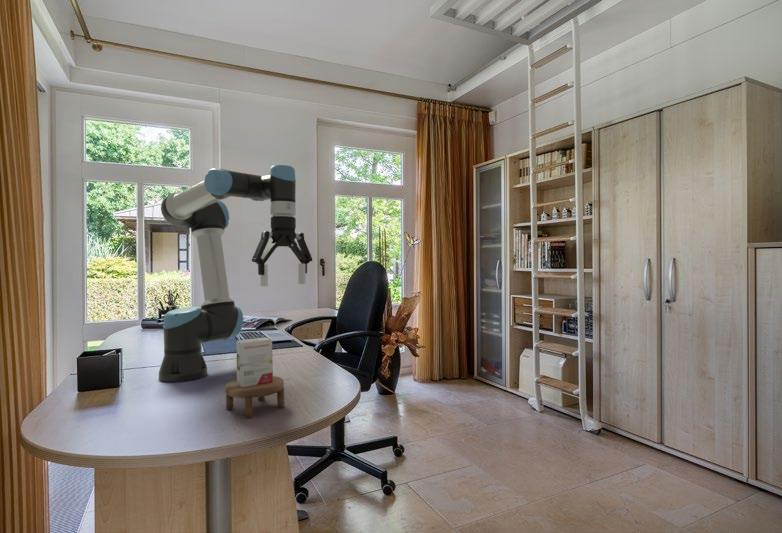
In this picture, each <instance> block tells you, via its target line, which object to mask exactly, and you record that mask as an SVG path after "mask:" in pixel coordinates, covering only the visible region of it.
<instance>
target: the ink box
mask: <svg viewBox="0 0 782 533" xmlns="http://www.w3.org/2000/svg"><path fill="white" fill-rule="evenodd" d="M235 343H236V344H235V345H236V379H237V384H238V385H240V386H241V387H242V388H243V387H248V386H253V385H258V384H263V383H268V382H273V376H274V375H273V374H274V370H273V367H274V366H273V361H274V360H273V340H272V339H271V338H270V337H269V338H268V337H267V336H266V337H258V338H248V339H247V338H246V339H238V340H236V342H235Z"/></svg>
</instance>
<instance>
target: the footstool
mask: <svg viewBox="0 0 782 533" xmlns="http://www.w3.org/2000/svg"><path fill="white" fill-rule="evenodd" d="M284 383H285V382H284V379H283V378H282V377H280V376H274V375H273V382H268V383H263V384H258V385H253V386H248V387H243V388H242V387H241V386H240V385H238V384H237V378H236V379H233V380H231V381H229V382H227V383H226V384H225V402H226V403H225V404H226V406H225V407H226V408H225V409H226V410H227V411H232V410H233V409H234V398H236V399H237V398H239V399H244V419H253V398H254V399H256V398H257V401H258V402H263V401H265V397H268V396H272V395H275V394H277V396H276V400H277V401H276V402H277V403H276V404H277V405H276V406H277V407H276V408H277V409H280V410H281V409H284V408H285V388H284V387H285V386H284V385H285V384H284Z"/></svg>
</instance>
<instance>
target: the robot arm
mask: <svg viewBox="0 0 782 533" xmlns="http://www.w3.org/2000/svg"><path fill="white" fill-rule="evenodd" d="M269 170H270V171H269V174H268V175H258V174H252V173H245V172H239V171H232V170H227V169H224V168H210V169H209V170H208V171H207V173H206V174H205V176H204V180H202V181H201V182H198V183H196V184H194V185H193V186H190V187H189V188H187V189H185V190H183V191H180V192H179V191H178V192H172V193H171V194H168V195H167V196H166V197H164V198H163V200H162V201H161V204H160V205H161V206H160V211H161V215H162V216H163V218H164V219H165V221H167V222H168V223H169V224H171V225H172V226H175V227H179V228H186V229H190V232H191V235H192V236H193V237H195V239H196V244H197V252H198V260H199V266H200V267H199V268H200V275H201V276H200V277H201V282H202V290H203V298H204V299H203V300H204V301H203V303H202V304H201V305H200V306H188V307H187V306H186V307H180V308H176V309H172V310H169V311H167V312H166V313H165V314H164V316H163V325H162V327H163V352H164V353H163V359H162V360H161V365H160V367H159V371H158V380H159V381H161V382H166V383H177V382H187V381H192V380H197V379H200V378H203V377H205V376H207V375H208V366H207V364H206V360H205V358H204V355H203V351H202V344H203V343H209V342H210V343H211V342H215V341H216V342H217V341H222V340H224V341H225V340H229V339H233V338H235V337H237V336H239V334H240V332H241V330H242V329H243V326H244V314H243V311H242V310H241V308H240V307H239V306H236V305H235V300H233V299H232V298H231V297H230V293H229V283H228V280H227V279H228V278H227V270H226V263H225V256H224V255H225V254H224V250H223V249H224V248H223V241H222V235H223V234H224V233H225V230H226V229H227V228H228V227H229V221H230V214H229V209H228V207H227V205H226V204H225V202H223V201H222V200H224V199H225V200H226V199H228V198H229V197H235V198H244V199H250V200H252V201H254V202H255V201H256V202H265V201H267V200H270V215H271V217H270V229H271V230H270V231H269V230H264V231H261V234H260V235H261V236H260V241H259V242H258V245H257V247H256V249H255V251H254V253H253V255H252V258H251V262H253V263H256V265H257V268H258V269H257V274H258V275H259V276H260V286H261V287H268V286H269V284H268V283H269V280H268V279H269V276H268V275H269V274H268V272H269V270H268V264H266V262H267V261H268V260H269V259H270V257H271V255H272V254H274V252H275V250H276V249H277V248H279V247H284V248H286V247H288V248H289V249H290V250H291V252H292V253H293V254H294V255H295V256H296V258H297V259H298V261H299V262H300V263H298V266H297V267H298V268H297V269H298V270H297V272H298V284H300V285H306V274H307V273H308V264H309V263H310V262H312V261H313V257H312V255H311V252H310V250H309V247H308V245H307V243H306V239H305V234H304V232H297V233H296V227H297V226H296V225H297V222H296V220H297V219H296V218H297V217H295V216H296V194H297V193H296V182H297V179H296V170H295V168H294V166H291V165H287V164H286V165H285V164H274V165H272V166H271V167H270V169H269ZM270 239H272V240H271V241H270V243H269V240H270ZM295 239H296V240H295ZM268 243H269V245H268ZM267 245H268V246H267ZM266 247H267V248H266Z"/></svg>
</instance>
